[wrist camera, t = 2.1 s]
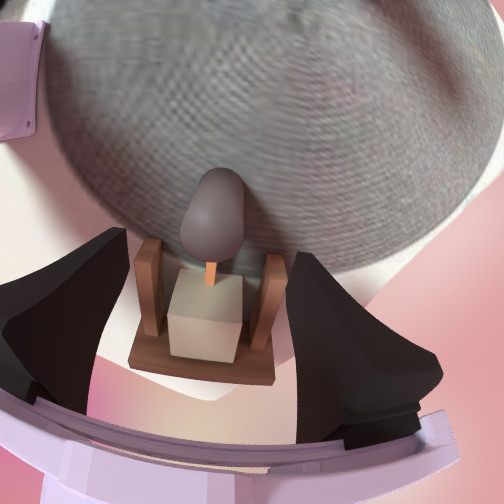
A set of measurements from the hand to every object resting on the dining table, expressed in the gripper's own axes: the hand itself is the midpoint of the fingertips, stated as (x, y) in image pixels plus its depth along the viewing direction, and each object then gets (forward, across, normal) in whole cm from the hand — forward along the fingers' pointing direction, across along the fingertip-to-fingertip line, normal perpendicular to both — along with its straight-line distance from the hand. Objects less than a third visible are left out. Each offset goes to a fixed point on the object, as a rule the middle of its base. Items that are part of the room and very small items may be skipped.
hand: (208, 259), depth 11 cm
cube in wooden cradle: (+8, 0, +8) cm, 12 cm away
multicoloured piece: (+8, 0, +5) cm, 9 cm away
